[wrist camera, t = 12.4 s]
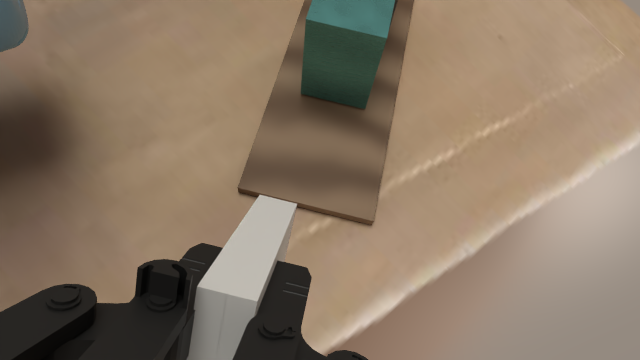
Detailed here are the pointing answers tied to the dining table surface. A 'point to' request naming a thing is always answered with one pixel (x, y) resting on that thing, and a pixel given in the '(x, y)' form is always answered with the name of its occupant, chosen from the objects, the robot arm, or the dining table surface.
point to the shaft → (344, 48)
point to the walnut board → (326, 135)
